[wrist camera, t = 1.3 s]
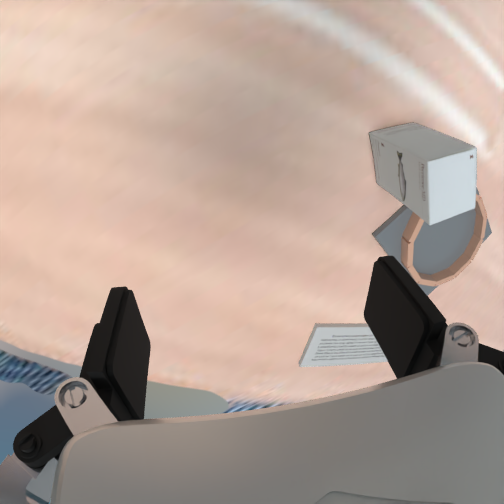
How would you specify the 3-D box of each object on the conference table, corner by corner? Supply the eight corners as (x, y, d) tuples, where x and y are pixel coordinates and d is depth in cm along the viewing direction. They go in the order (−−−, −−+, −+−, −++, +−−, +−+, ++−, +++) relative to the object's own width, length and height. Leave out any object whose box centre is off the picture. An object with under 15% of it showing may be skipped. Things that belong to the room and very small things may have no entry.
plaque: (444, 323, 57) (422, 357, 61) (441, 319, 58) (420, 352, 63) (317, 327, 50) (299, 367, 55) (314, 321, 51) (297, 360, 56)
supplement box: (366, 131, 36) (427, 159, 25) (413, 121, 35) (479, 146, 25) (374, 184, 40) (428, 227, 29) (418, 171, 39) (477, 209, 29)
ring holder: (458, 151, 38) (471, 157, 36) (488, 230, 47) (498, 238, 44) (371, 233, 43) (381, 244, 41) (418, 297, 52) (426, 308, 49)
